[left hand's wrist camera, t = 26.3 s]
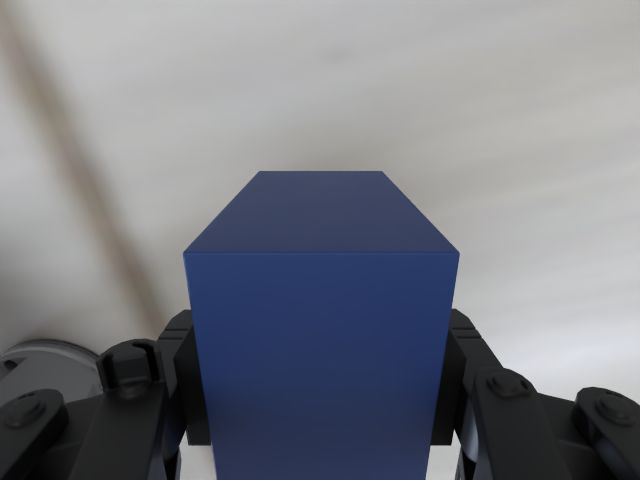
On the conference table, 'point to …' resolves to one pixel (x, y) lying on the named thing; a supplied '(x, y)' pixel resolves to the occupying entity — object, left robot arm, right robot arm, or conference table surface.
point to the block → (321, 328)
